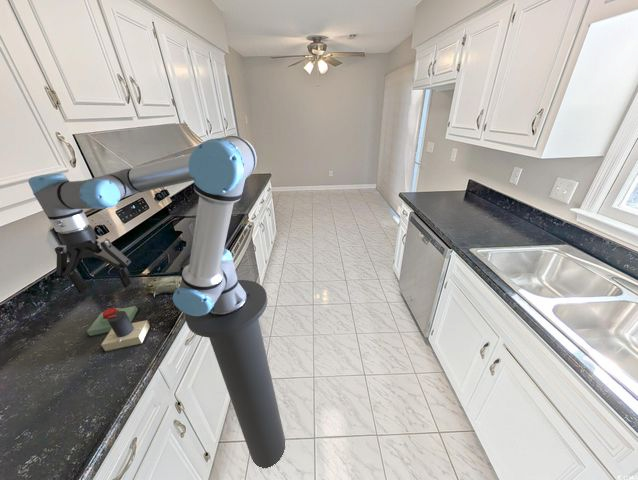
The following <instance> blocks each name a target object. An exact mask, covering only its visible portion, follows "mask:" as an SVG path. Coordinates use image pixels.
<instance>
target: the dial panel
mask: <svg viewBox="0 0 638 480" xmlns="http://www.w3.org/2000/svg"><path fill="white" fill-rule="evenodd" d="M131 323H132V325H133V327H134V329H133V331H132V332H131V333H130V334H128V335H127V336H124V337H117V336H116V334H115V333H114V331H113V329H111V331H110V332H108V333H107V335H106V337H105V338H104V339H103V340H102V343H101V344H100V345H101V347H102V349H103V350H104V351H105V352H109V351H112V350H117V349H122V348H126V347H131V346H136V345H139V344H141V345H142V344H143V342H144V340H145V338H146V336H147V334H148V332H149V330H150V328H151V325H150V323H149V320H147V319H146V320H141V321H135V322H131Z"/></svg>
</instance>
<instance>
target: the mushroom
mask: <svg viewBox="0 0 638 480" xmlns="http://www.w3.org/2000/svg"><path fill="white" fill-rule="evenodd" d="M181 279H182V276H179V275H178V276H177V275H176V276H165V277H161V278H158V279H157V278H153V281H151V280H150V281H149V282H148V283H147V287H146V288H145V291H146V293H149V294H152V295H153V297H154V298H155V297H156V295H162V294H165V293H167V294H172V293H173V294H174V293H175V291H176V289H178V288H179V286H180V284H181Z"/></svg>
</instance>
